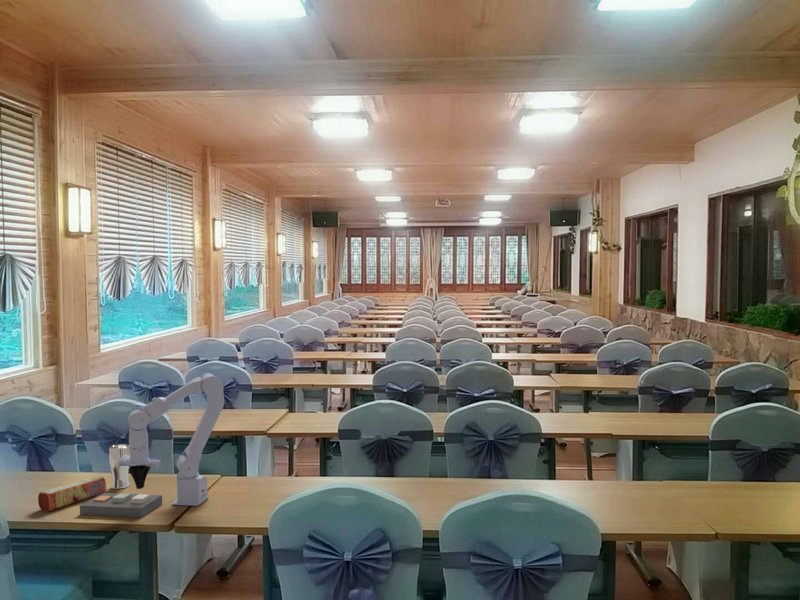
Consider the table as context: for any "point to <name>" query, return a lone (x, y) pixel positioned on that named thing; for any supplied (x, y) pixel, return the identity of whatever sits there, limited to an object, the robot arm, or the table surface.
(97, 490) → the snack package
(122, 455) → the beer glass
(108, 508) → the button panel
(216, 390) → the robot arm
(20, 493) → the table surface
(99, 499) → the terracotta button
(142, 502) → the off-white button
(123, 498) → the sage button
